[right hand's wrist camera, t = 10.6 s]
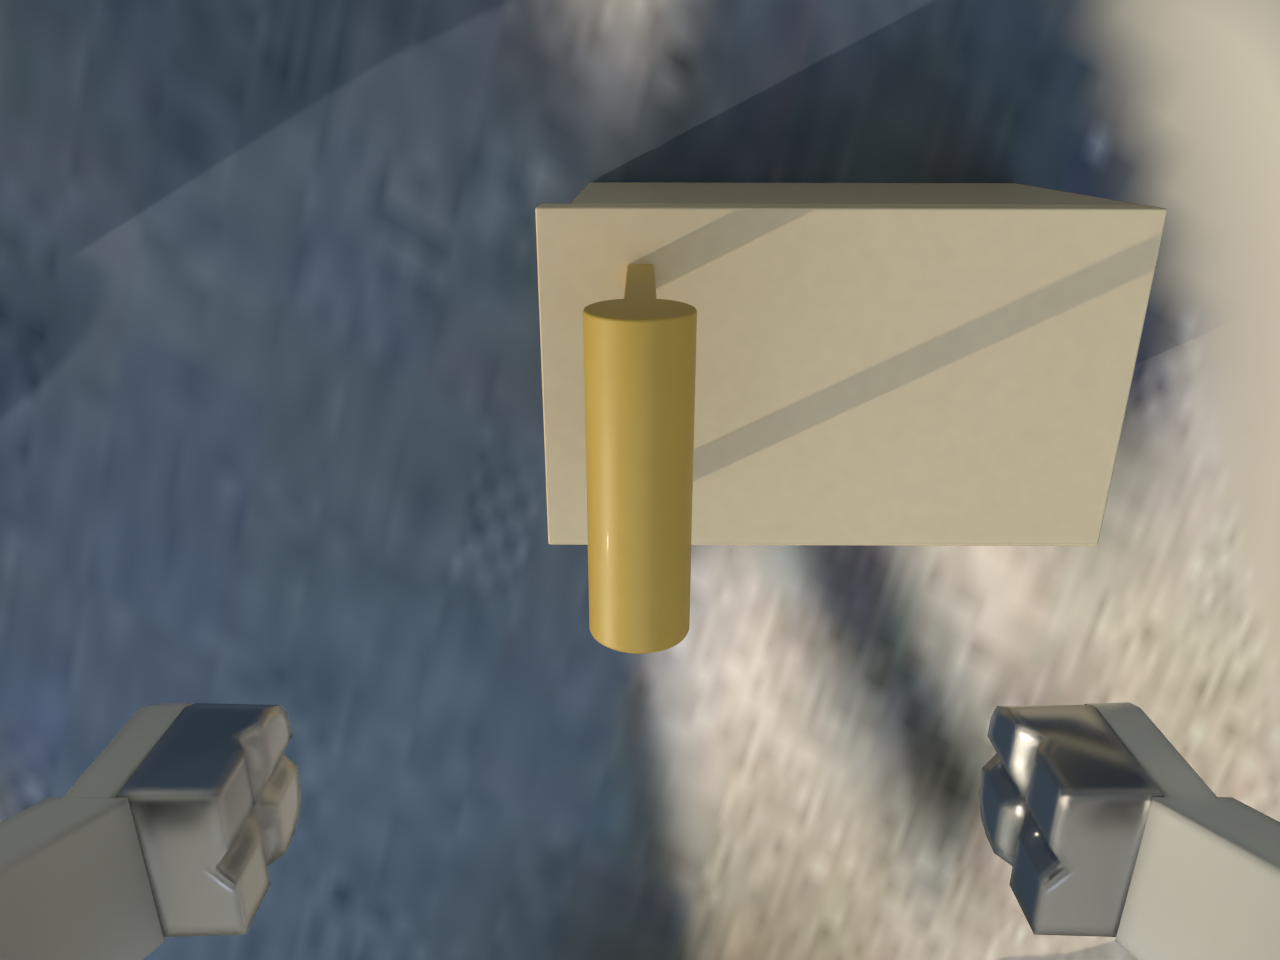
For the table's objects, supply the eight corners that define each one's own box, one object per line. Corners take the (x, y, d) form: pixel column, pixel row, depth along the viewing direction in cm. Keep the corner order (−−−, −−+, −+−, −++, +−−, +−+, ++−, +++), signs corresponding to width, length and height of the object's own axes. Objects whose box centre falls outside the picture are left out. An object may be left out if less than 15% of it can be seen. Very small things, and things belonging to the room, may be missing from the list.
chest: (592, 434, 36) (577, 528, 28) (587, 182, 32) (569, 203, 24) (979, 435, 36) (1079, 529, 28) (1016, 183, 32) (1144, 204, 24)
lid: (551, 528, 28) (512, 705, 19) (539, 203, 24) (485, 247, 16) (1080, 530, 28) (1269, 707, 19) (1145, 204, 24) (1410, 249, 16)
